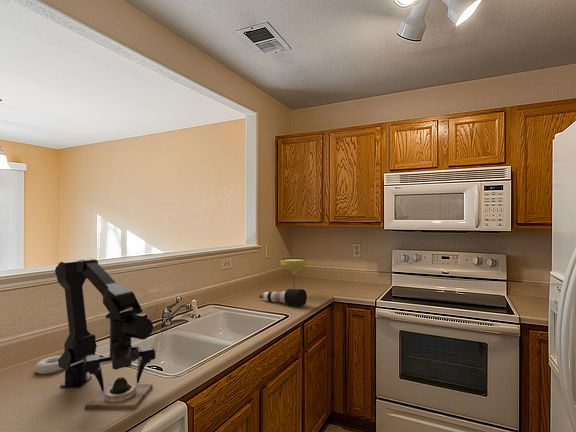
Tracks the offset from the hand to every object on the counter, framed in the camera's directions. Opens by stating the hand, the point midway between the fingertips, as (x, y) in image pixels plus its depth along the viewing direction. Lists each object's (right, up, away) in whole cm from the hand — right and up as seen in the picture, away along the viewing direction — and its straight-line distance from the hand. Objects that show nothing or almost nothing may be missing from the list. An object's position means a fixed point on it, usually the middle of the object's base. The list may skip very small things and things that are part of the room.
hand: (120, 386), depth 99 cm
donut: (-34, -4, +19) cm, 39 cm away
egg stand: (0, -3, 0) cm, 3 cm away
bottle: (+45, -5, +111) cm, 120 cm away
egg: (0, -2, 0) cm, 2 cm away
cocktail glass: (+54, -5, +133) cm, 143 cm away
